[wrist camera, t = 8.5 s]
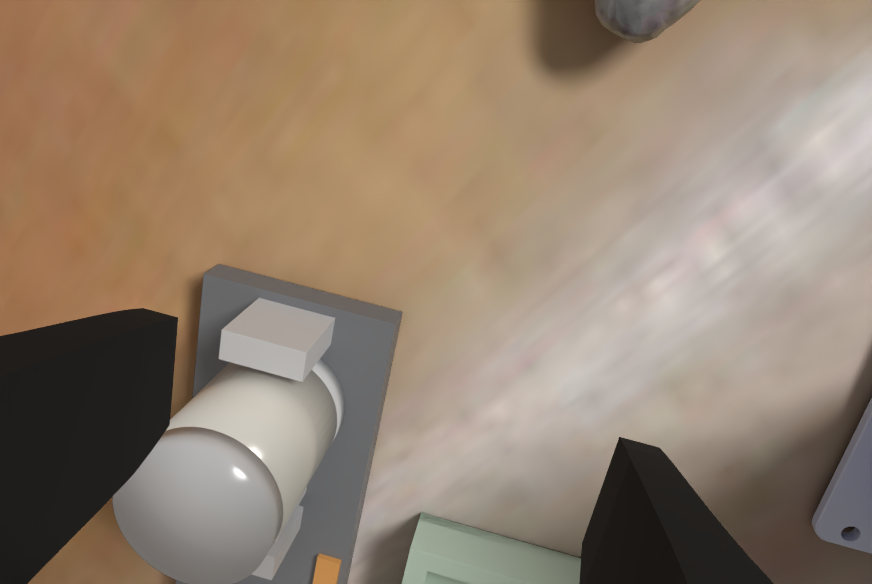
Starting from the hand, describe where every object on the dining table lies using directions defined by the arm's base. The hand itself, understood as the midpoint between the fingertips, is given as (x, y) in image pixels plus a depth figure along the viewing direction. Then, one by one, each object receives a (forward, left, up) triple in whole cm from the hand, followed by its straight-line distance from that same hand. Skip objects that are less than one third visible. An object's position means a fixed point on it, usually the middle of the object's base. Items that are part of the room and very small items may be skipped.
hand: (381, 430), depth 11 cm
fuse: (+4, +6, -9) cm, 12 cm away
